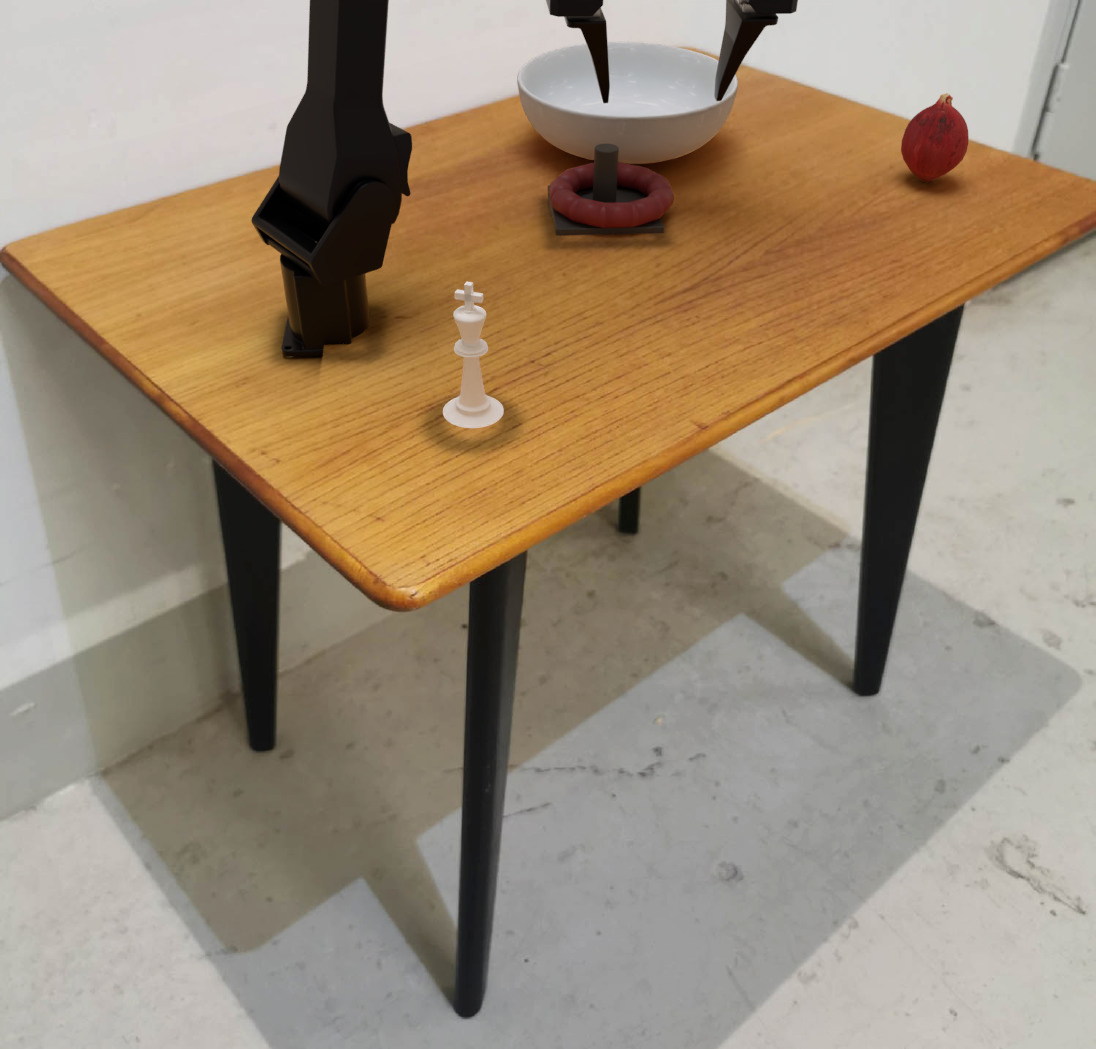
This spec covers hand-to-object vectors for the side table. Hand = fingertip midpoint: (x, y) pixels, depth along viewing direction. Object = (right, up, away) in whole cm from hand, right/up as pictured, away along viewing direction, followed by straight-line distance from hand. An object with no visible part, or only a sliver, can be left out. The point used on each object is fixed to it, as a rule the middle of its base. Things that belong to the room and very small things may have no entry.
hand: (661, 100), depth 91 cm
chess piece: (-14, -28, -17) cm, 36 cm away
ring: (-4, -6, +5) cm, 9 cm away
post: (-4, -8, +6) cm, 11 cm away
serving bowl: (-2, +3, +20) cm, 20 cm away
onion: (+26, -3, +14) cm, 30 cm away
